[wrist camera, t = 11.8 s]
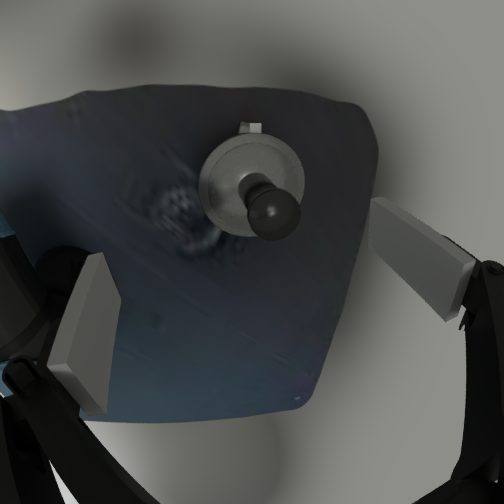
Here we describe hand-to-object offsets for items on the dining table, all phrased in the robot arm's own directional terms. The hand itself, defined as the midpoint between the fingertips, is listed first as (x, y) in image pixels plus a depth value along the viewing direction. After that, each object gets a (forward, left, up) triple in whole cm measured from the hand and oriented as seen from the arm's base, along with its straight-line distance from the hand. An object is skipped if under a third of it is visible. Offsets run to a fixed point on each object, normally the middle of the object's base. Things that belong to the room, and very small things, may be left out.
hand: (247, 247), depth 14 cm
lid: (+4, -3, -18) cm, 19 cm away
